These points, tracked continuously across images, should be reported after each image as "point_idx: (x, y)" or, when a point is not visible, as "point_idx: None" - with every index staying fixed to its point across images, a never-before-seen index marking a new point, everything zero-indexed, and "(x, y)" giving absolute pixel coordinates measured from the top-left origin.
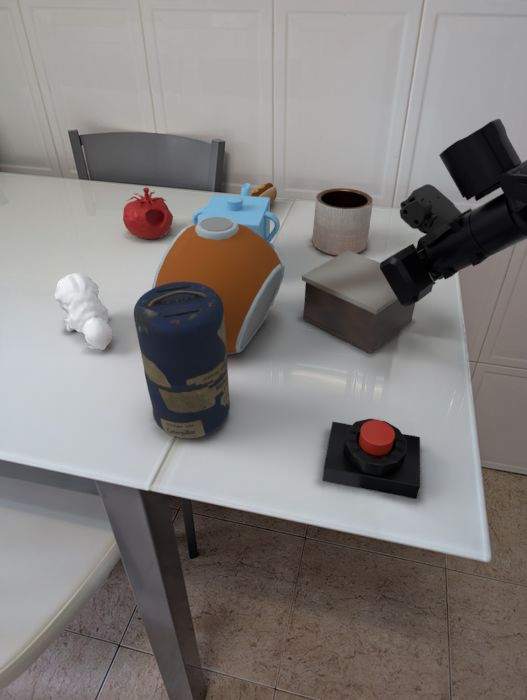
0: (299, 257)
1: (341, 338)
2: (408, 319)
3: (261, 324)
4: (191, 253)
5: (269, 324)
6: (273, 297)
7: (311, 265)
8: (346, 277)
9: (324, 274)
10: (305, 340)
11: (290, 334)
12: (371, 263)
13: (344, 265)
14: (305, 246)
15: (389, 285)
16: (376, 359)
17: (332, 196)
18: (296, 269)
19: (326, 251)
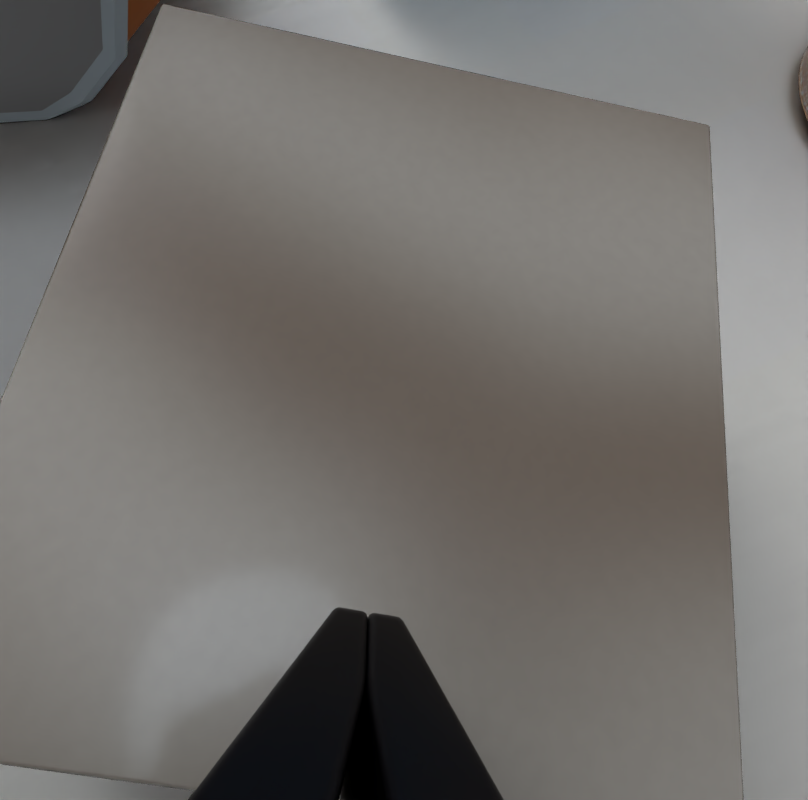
0: (683, 37)
1: None
2: None
3: (46, 116)
4: None
5: (77, 145)
6: (89, 28)
7: (664, 100)
8: (322, 257)
9: (269, 114)
10: (24, 339)
11: (41, 256)
12: (661, 334)
13: (489, 181)
14: (782, 23)
15: (411, 631)
16: (28, 777)
17: None
18: (586, 63)
19: (805, 101)
